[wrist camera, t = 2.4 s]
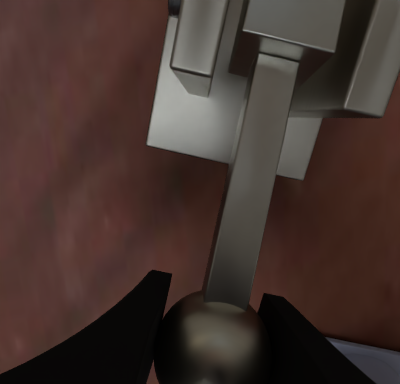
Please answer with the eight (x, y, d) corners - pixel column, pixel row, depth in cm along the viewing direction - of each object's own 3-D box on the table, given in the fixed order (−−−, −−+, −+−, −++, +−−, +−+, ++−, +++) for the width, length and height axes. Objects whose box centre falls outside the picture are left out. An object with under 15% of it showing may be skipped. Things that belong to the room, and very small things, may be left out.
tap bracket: (296, 176, 16) (400, 244, 8) (149, 143, 16) (84, 175, 7) (361, -35, 14) (618, -281, 5) (189, -79, 13) (162, -418, 5)
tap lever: (245, 382, 9) (272, 470, 6) (149, 364, 9) (131, 445, 6) (324, 10, 10) (387, -74, 7) (232, -13, 9) (253, -109, 6)
